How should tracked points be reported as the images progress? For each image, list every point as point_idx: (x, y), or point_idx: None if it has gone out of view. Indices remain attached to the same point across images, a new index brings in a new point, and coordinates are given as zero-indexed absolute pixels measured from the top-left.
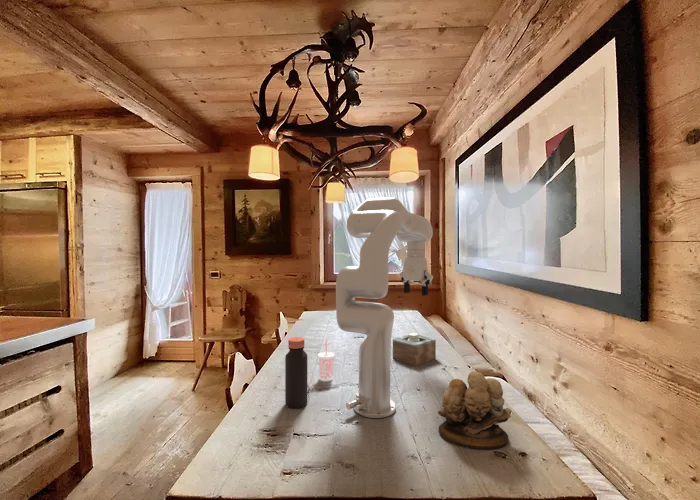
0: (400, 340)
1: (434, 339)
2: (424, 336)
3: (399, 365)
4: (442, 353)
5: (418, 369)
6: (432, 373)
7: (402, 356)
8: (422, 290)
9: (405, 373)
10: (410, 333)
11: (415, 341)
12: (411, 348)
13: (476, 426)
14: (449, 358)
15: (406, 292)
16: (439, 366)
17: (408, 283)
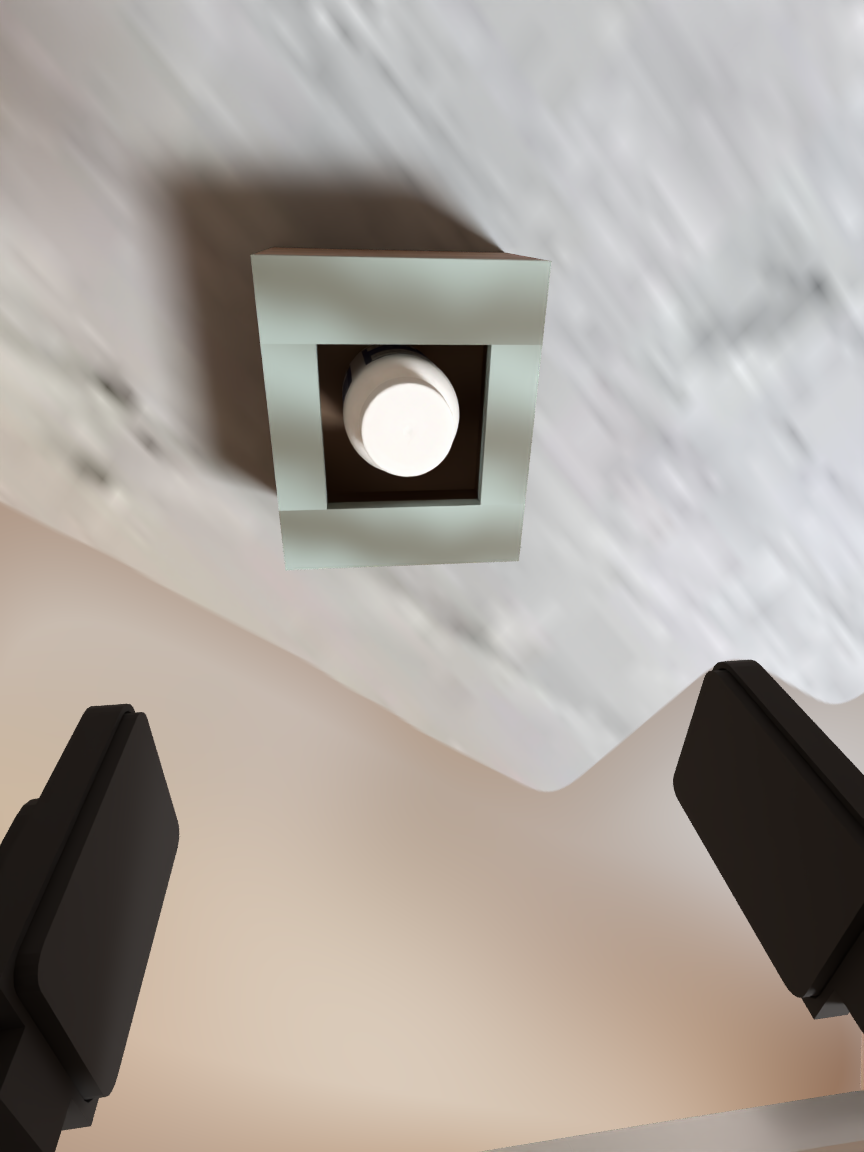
0: (462, 283)
1: (289, 561)
2: (402, 563)
3: (356, 154)
4: (342, 613)
5: (200, 214)
6: (76, 234)
7: (402, 252)
8: (52, 818)
9: (184, 23)
10: (444, 430)
11: (354, 391)
12: (292, 253)
13: None
14: (249, 577)
15: (702, 701)
16: (168, 404)
17: (838, 990)
